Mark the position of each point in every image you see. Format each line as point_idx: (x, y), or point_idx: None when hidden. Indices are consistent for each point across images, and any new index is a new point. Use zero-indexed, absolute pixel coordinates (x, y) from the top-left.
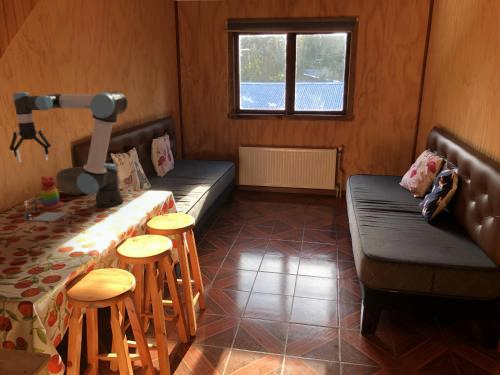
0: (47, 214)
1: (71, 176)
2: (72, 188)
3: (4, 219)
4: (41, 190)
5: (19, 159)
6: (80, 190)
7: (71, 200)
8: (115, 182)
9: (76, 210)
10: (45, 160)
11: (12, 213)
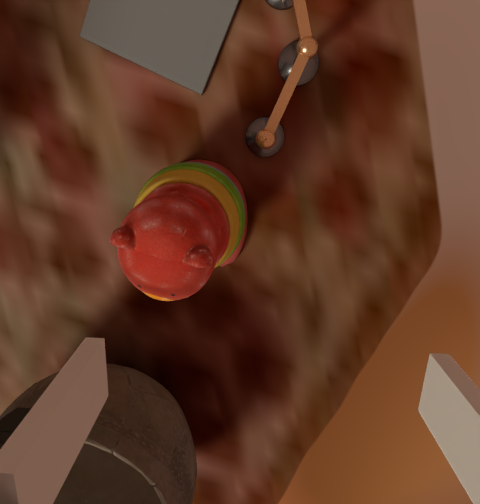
0: (188, 45)
1: None
2: None
3: (418, 43)
4: (224, 204)
5: (445, 400)
6: None
7: (122, 300)
8: None
9: (50, 102)
10: (97, 339)
11: (391, 151)
